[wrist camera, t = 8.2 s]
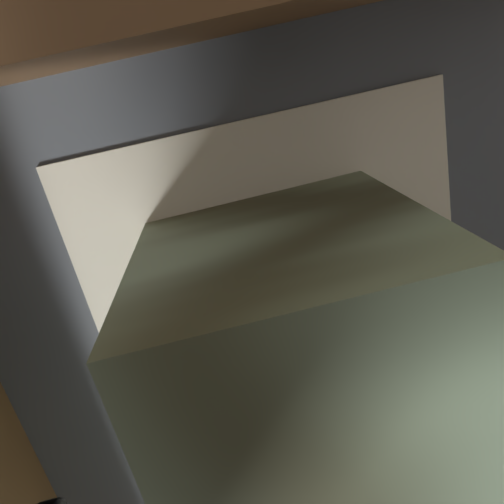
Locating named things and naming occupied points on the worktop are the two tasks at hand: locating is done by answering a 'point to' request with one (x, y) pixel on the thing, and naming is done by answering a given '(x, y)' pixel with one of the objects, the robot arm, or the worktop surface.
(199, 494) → the sage block
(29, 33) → the arena
